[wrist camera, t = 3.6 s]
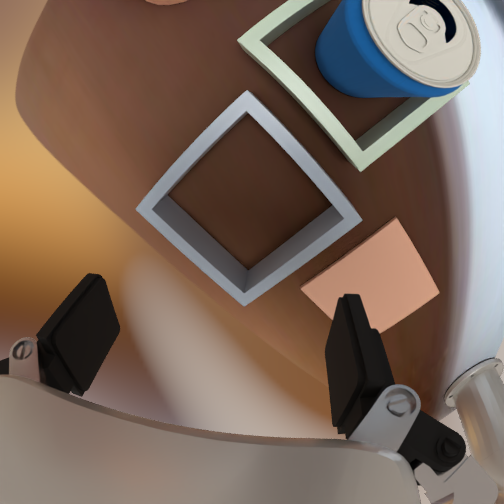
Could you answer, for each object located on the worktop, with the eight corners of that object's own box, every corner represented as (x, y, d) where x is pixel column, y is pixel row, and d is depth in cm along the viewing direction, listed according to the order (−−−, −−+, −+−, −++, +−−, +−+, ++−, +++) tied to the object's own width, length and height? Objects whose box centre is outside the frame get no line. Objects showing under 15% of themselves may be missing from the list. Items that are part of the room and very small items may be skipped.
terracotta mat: (438, 290, 26) (439, 292, 26) (357, 343, 30) (358, 346, 30) (395, 216, 23) (396, 218, 22) (300, 286, 27) (300, 288, 27)
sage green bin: (447, 83, 16) (469, 83, 13) (348, 161, 21) (360, 171, 18) (353, -27, 13) (363, -44, 10) (243, 49, 17) (236, 40, 14)
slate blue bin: (351, 203, 23) (362, 220, 20) (248, 283, 27) (244, 306, 24) (251, 92, 19) (246, 89, 16) (152, 194, 24) (135, 209, 21)
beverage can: (408, 65, 16) (505, 51, 6) (359, 114, 19) (438, 130, 9) (348, 8, 15) (405, -59, 4) (296, 58, 18) (316, 8, 7)
